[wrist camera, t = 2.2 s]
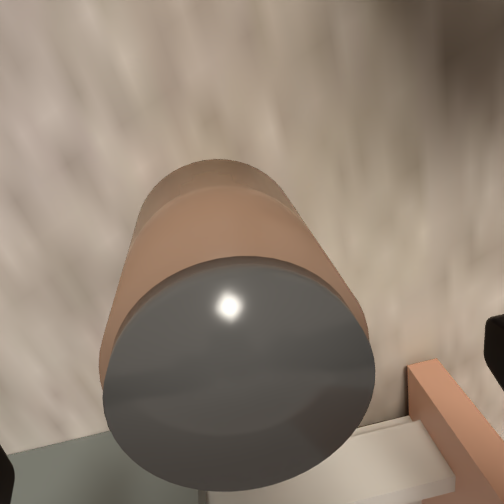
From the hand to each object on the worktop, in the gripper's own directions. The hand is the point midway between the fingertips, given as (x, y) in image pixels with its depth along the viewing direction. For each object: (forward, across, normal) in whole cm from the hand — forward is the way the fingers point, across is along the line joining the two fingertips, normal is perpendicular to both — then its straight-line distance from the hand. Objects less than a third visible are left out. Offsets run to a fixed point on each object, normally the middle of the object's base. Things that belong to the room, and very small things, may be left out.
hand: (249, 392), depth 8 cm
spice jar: (+7, 0, 0) cm, 7 cm away
